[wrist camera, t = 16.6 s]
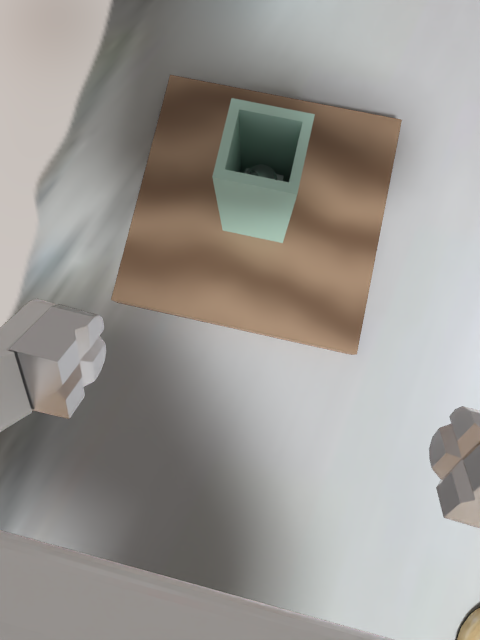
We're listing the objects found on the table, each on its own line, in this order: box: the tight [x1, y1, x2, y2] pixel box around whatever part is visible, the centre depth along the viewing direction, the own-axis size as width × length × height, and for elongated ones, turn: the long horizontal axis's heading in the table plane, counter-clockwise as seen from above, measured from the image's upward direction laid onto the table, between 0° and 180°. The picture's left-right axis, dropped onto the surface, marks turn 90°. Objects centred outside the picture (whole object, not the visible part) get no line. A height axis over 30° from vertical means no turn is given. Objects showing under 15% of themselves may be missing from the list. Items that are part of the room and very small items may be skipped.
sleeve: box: [212, 98, 315, 243], centre depth 26 cm, size 5×5×9 cm
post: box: [244, 164, 284, 181], centre depth 28 cm, size 3×3×5 cm
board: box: [111, 75, 402, 355], centre depth 31 cm, size 20×20×2 cm
